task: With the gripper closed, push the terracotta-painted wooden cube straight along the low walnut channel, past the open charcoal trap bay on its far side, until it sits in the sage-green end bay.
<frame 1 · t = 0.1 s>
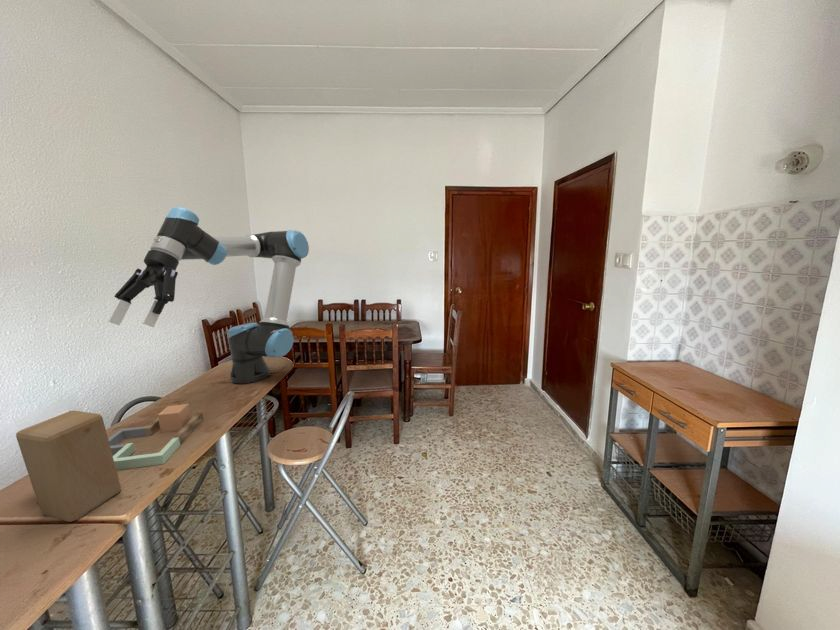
hand: (130, 324, 90), 36 cm above the table, tool tilted 35°, fingers open, 13 cm apart
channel: (163, 440, 99), on the table
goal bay: (146, 456, 92), on the table
wooden block: (83, 503, 76), on the table
trap bay: (124, 445, 98), on the table
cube: (177, 426, 107), on the table
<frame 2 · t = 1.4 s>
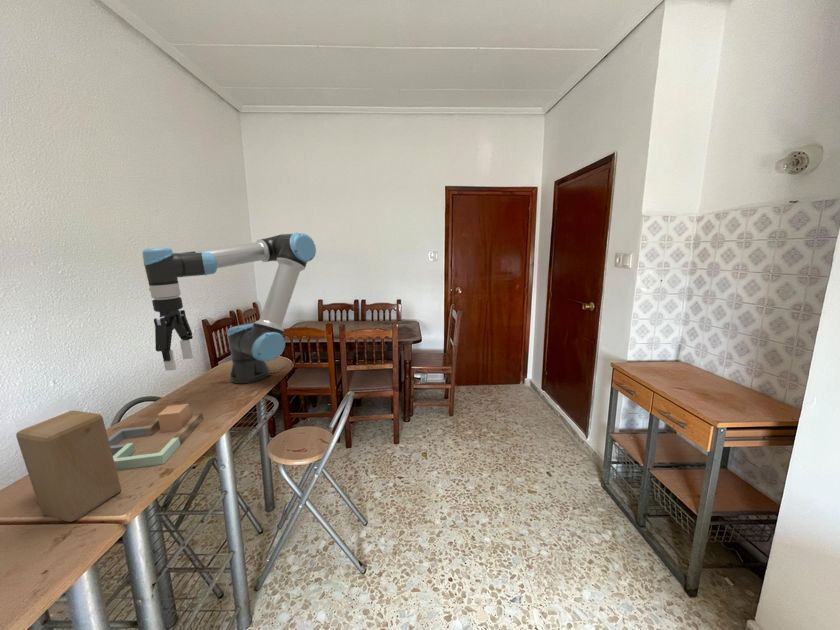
hand: (180, 363, 112), 18 cm above the table, tool pointing down, fingers open, 10 cm apart
nothing on the table moved.
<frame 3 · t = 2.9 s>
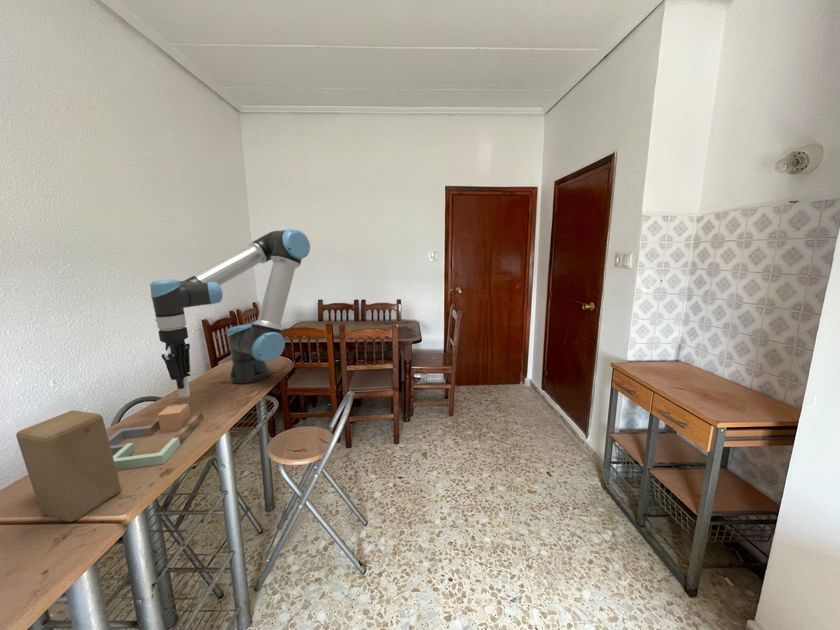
hand: (184, 396, 114), 7 cm above the table, tool pointing down, fingers closed
nothing on the table moved.
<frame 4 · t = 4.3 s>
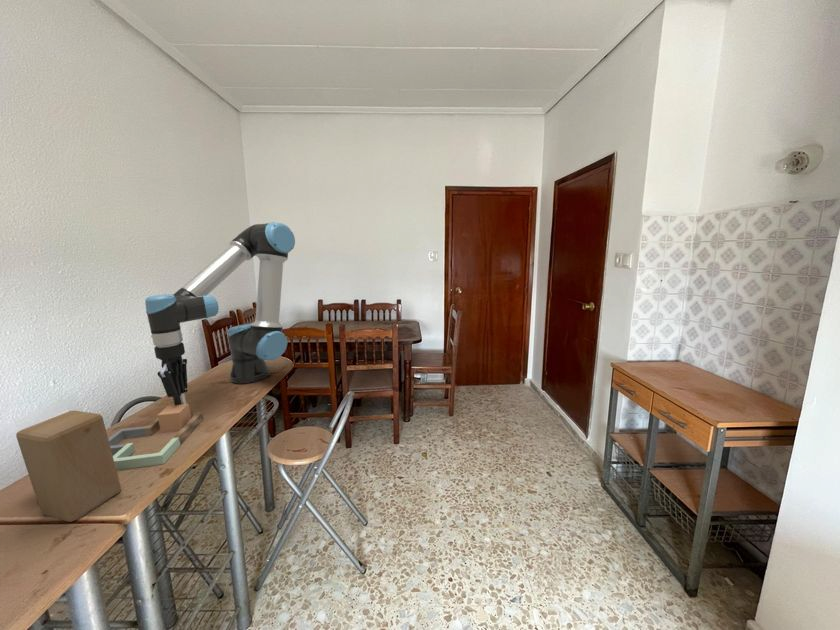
hand: (182, 412, 111), 2 cm above the table, tool pointing down, fingers closed
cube: (177, 426, 107), on the table, touching gripper
everything else where it was.
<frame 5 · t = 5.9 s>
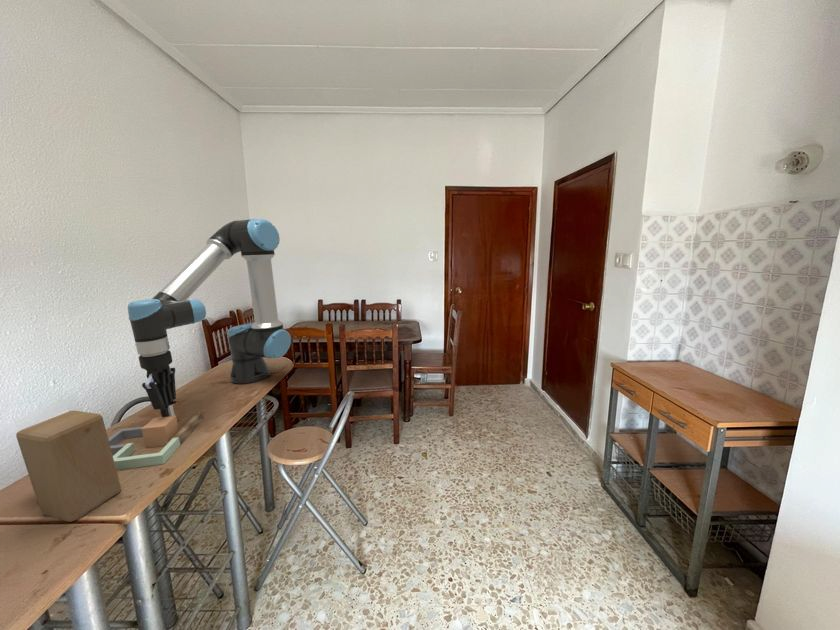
hand: (170, 425, 104), 2 cm above the table, tool pointing down, fingers closed
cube: (163, 440, 99), on the table, touching gripper
everything else where it was.
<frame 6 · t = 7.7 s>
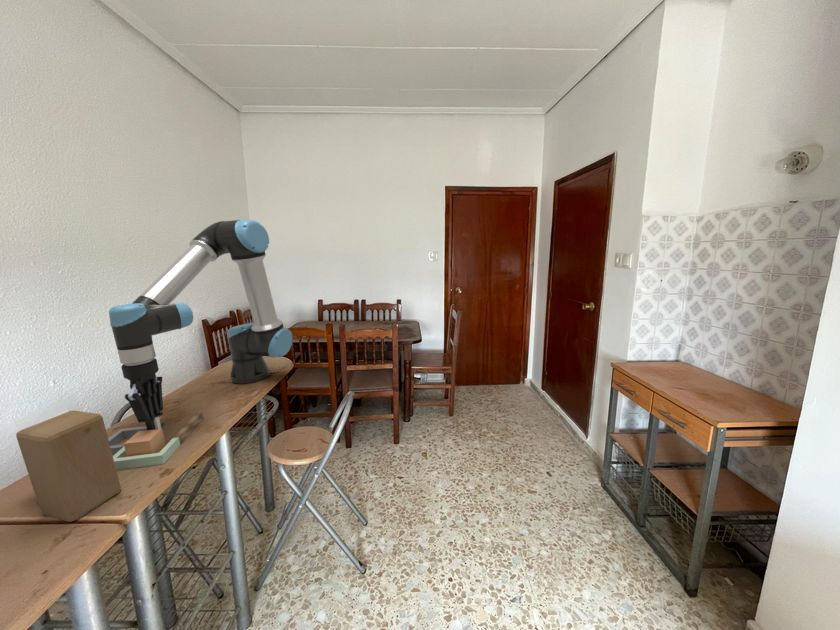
hand: (156, 439, 97), 2 cm above the table, tool pointing down, fingers closed
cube: (148, 455, 92), on the table, touching gripper
everything else where it was.
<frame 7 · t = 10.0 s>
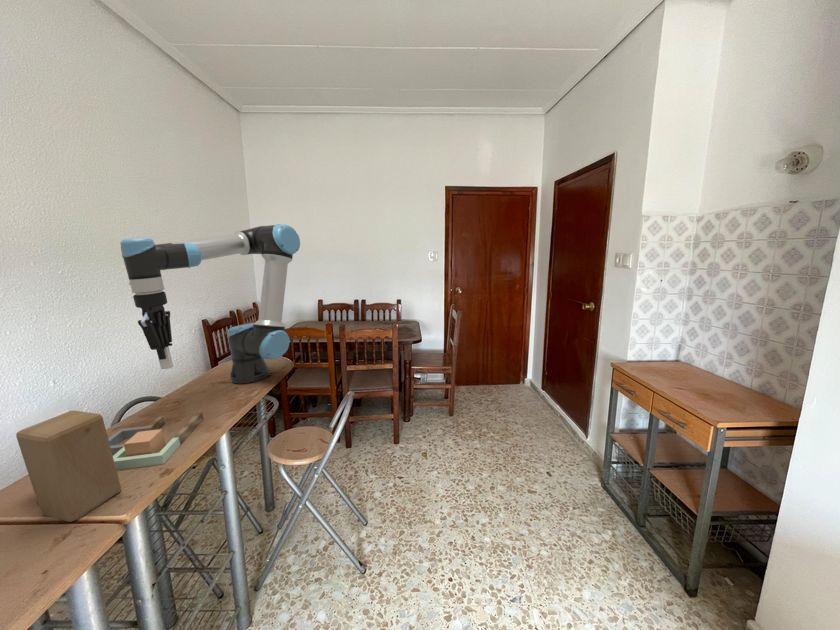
hand: (167, 367, 104), 19 cm above the table, tool pointing down, fingers closed
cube: (148, 456, 92), on the table
everything else where it was.
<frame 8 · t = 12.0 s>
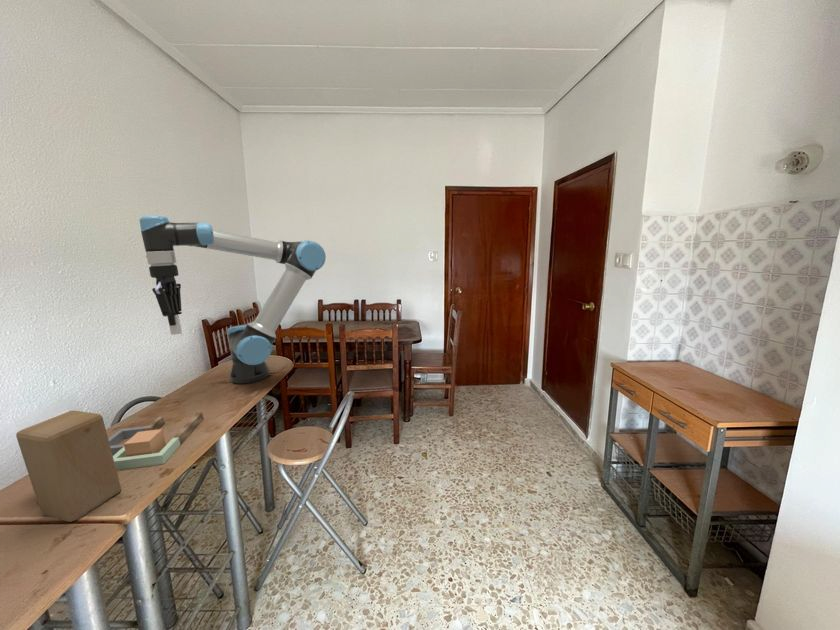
hand: (176, 333, 116), 26 cm above the table, tool pointing down, fingers closed
nothing on the table moved.
at the end: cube inside the target area (0.1 cm from its centre), on the table; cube tilted 0° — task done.
